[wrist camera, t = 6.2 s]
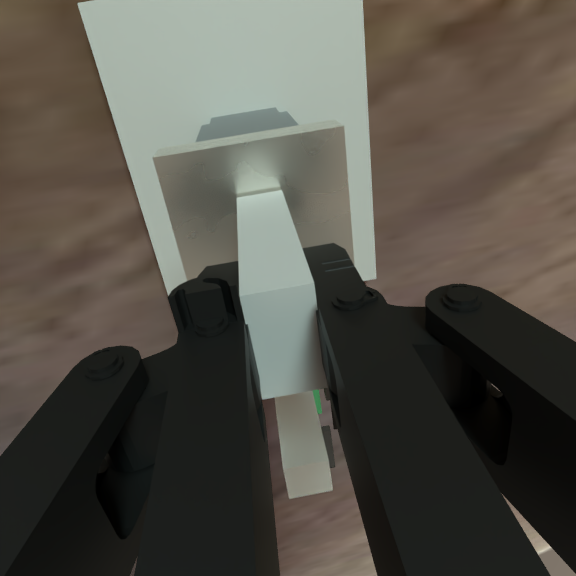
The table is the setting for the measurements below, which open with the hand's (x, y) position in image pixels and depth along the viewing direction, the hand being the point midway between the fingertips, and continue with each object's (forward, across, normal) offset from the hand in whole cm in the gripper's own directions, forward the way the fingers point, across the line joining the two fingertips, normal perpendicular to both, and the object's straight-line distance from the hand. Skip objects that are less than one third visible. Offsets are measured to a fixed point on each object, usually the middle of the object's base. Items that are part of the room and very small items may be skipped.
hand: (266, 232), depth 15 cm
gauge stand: (+15, 0, 0) cm, 15 cm away
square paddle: (+10, 0, -3) cm, 10 cm away
